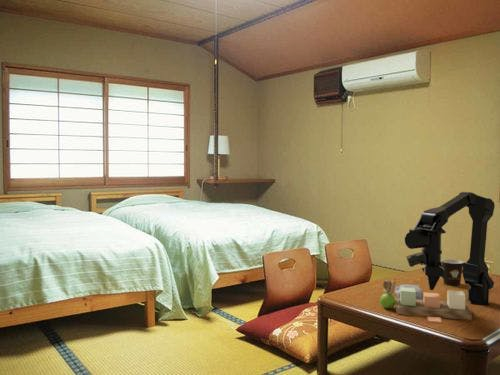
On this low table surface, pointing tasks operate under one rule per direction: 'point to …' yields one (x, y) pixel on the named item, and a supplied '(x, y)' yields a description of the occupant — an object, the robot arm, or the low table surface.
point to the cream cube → (456, 299)
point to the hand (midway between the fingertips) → (431, 289)
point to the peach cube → (431, 300)
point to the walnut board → (433, 310)
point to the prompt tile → (434, 319)
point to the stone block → (417, 288)
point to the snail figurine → (388, 294)
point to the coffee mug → (452, 271)
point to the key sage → (407, 296)
